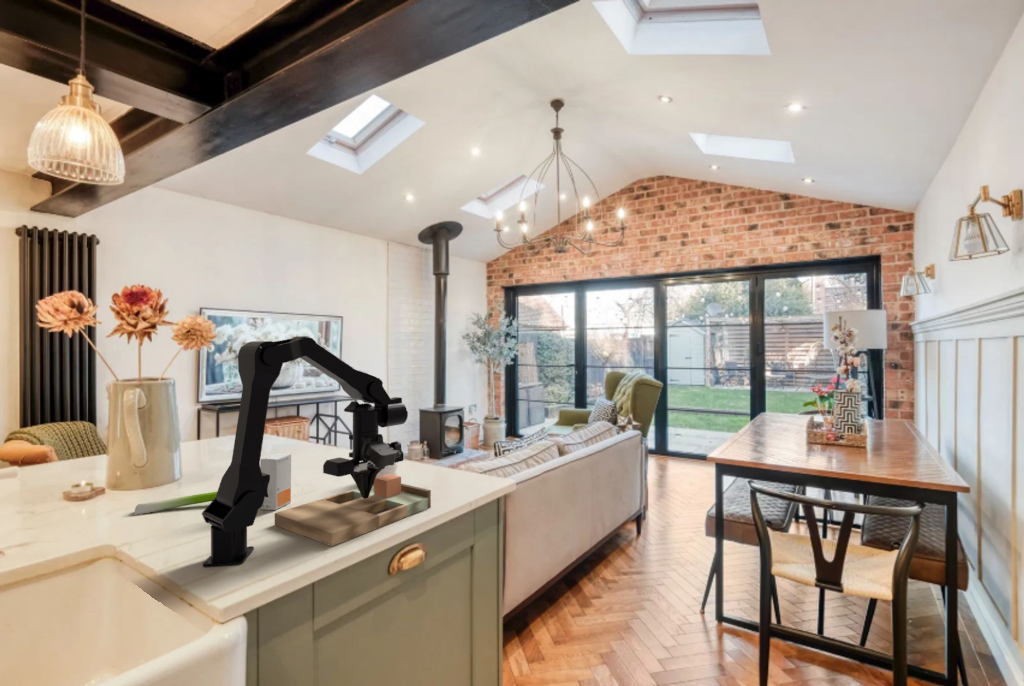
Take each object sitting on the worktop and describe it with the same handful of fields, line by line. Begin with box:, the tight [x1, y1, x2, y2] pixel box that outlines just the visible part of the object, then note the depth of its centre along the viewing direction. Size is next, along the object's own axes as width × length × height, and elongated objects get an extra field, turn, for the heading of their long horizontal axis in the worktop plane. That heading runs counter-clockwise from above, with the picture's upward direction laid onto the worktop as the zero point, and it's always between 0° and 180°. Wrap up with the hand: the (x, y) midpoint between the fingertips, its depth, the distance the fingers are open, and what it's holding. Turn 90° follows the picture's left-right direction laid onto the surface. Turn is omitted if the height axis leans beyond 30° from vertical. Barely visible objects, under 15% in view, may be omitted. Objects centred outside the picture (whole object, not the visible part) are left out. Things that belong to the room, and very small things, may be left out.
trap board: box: [274, 483, 432, 547], centre depth 111 cm, size 27×20×4 cm
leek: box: [133, 491, 217, 516], centre depth 118 cm, size 6×7×30 cm
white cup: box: [376, 441, 399, 477], centre depth 140 cm, size 8×8×10 cm
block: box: [374, 474, 402, 498], centre depth 118 cm, size 4×4×4 cm
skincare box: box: [259, 452, 292, 511], centre depth 117 cm, size 6×4×12 cm
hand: (365, 498), depth 113 cm, fingers closed
